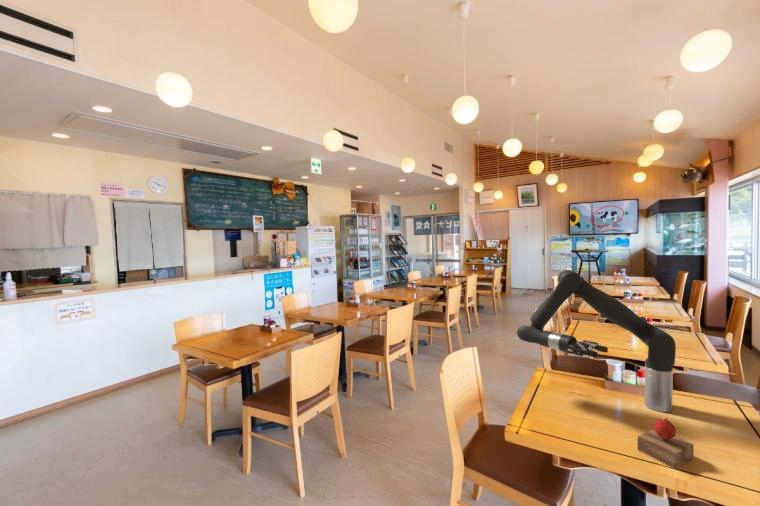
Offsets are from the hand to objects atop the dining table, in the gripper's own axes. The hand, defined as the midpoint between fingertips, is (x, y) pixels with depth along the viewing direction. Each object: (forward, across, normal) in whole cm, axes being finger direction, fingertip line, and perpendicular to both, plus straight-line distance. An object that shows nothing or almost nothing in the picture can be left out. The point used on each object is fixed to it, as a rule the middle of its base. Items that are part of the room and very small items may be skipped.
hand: (602, 352), depth 140 cm
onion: (+22, -6, +23) cm, 33 cm away
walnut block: (+22, -6, +28) cm, 36 cm away
